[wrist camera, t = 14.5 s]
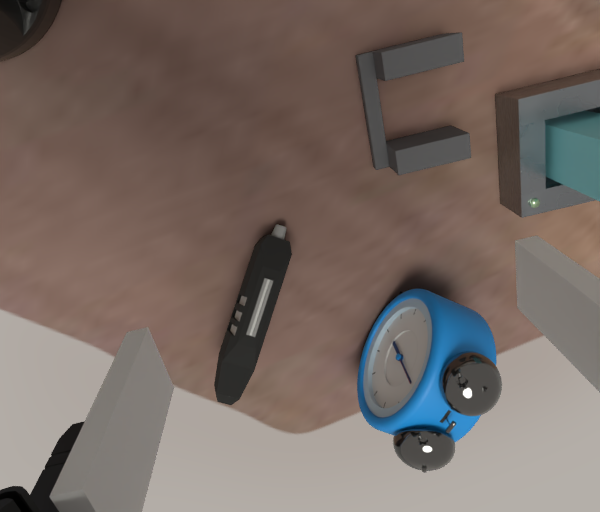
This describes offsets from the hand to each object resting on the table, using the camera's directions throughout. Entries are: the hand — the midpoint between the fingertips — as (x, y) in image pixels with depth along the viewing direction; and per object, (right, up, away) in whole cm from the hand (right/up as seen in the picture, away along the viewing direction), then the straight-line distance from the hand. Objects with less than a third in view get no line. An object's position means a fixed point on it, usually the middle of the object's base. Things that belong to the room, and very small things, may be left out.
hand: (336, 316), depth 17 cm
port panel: (+21, +13, +25) cm, 35 cm away
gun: (-6, -1, +30) cm, 30 cm away
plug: (+21, +12, +25) cm, 35 cm away
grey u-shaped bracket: (+8, +15, +23) cm, 29 cm away
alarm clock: (+9, -5, +33) cm, 34 cm away
